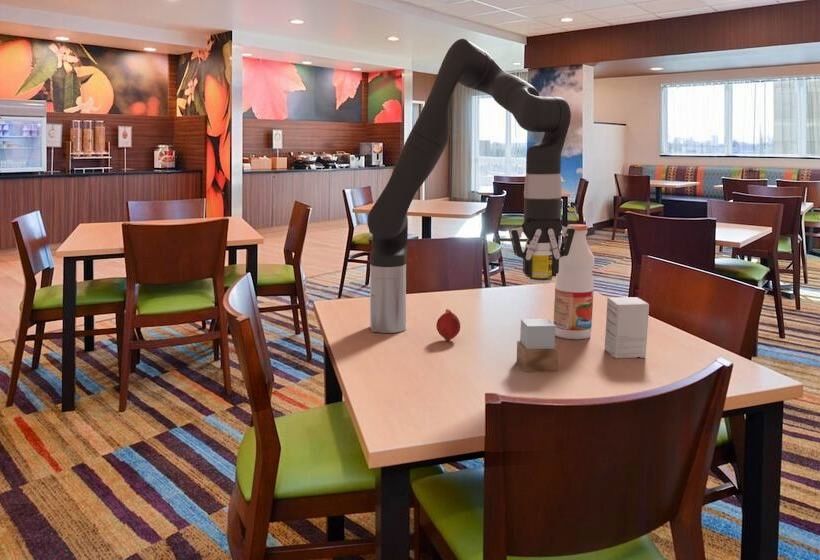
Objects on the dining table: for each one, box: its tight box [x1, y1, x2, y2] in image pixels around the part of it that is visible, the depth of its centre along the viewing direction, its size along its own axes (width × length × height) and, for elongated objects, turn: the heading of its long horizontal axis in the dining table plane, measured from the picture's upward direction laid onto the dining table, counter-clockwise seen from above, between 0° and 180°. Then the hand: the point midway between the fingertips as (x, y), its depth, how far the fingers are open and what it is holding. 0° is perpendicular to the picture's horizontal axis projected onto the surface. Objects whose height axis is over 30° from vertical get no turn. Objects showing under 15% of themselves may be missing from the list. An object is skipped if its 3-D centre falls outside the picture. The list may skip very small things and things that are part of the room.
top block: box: [519, 318, 556, 349], centre depth 144 cm, size 6×6×5 cm
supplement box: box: [604, 296, 650, 359], centre depth 153 cm, size 7×7×13 cm
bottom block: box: [516, 340, 559, 373], centre depth 145 cm, size 7×7×5 cm
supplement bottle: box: [528, 243, 553, 284], centre depth 142 cm, size 5×5×8 cm
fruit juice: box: [553, 223, 596, 340], centre depth 167 cm, size 9×9×28 cm
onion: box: [435, 308, 461, 342], centre depth 164 cm, size 6×6×8 cm
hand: (540, 275), depth 142 cm, fingers closed on supplement bottle, 4 cm apart
